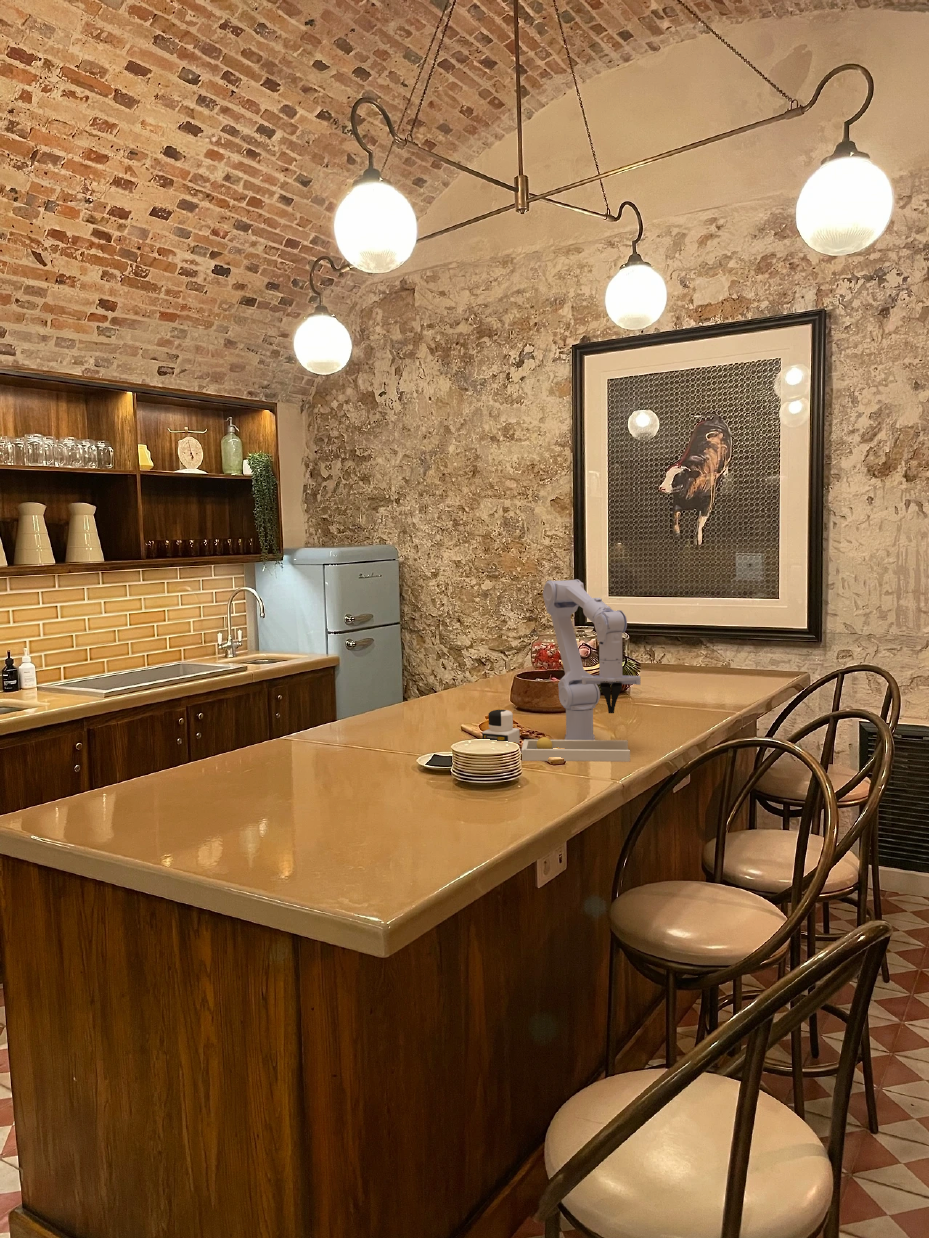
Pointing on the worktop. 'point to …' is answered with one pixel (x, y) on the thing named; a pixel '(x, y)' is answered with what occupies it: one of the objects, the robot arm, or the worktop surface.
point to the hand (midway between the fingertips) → (611, 712)
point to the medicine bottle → (501, 727)
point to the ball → (544, 743)
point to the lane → (578, 750)
